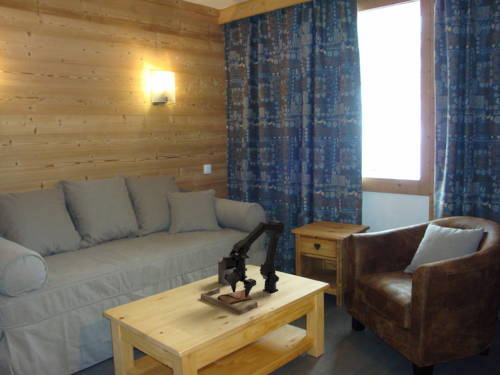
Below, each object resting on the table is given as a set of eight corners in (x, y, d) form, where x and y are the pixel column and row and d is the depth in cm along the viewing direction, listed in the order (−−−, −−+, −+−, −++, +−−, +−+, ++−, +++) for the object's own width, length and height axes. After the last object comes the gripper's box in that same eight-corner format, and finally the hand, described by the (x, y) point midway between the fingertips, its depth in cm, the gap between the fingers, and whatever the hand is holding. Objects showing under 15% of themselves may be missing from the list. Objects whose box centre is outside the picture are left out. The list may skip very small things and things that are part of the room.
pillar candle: (214, 283, 266) (214, 258, 263) (225, 278, 274) (225, 254, 271) (227, 286, 260) (228, 261, 258) (238, 281, 268) (238, 257, 266)
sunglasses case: (225, 306, 233) (222, 293, 235) (219, 309, 238) (216, 296, 240) (254, 298, 243) (250, 286, 245) (247, 301, 248) (244, 289, 250)
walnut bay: (218, 291, 252) (218, 287, 252) (257, 306, 232) (257, 302, 232) (200, 298, 243) (200, 294, 243) (240, 314, 223) (240, 309, 223)
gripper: (217, 266, 242) (217, 294, 244) (242, 274, 229) (242, 304, 232) (232, 261, 250) (231, 289, 252) (257, 269, 238) (256, 298, 240)
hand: (240, 295), depth 244 cm, fingers open, 9 cm apart
